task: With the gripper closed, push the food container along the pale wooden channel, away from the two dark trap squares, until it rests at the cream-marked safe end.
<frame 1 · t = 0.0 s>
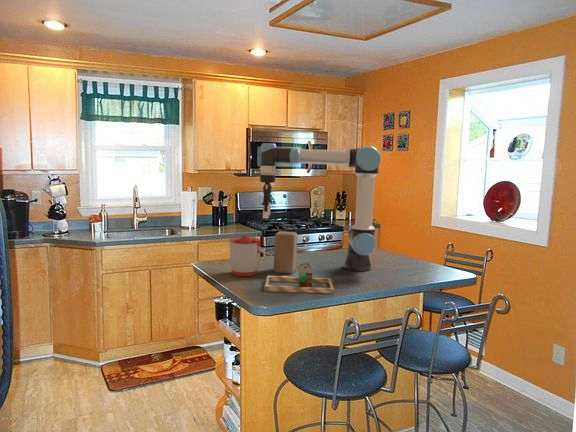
hand: (266, 216, 227), 28 cm above the table, tool pointing down, fingers open, 13 cm apart
citrus juicer: (246, 274, 222), on the table
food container: (303, 287, 203), on the table
trap channel: (298, 286, 203), on the table
block: (284, 271, 231), on the table
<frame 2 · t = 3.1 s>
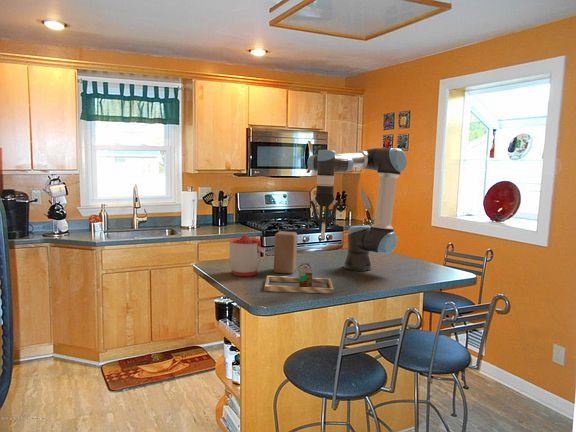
hand: (322, 238, 200), 23 cm above the table, tool pointing down, fingers closed
nothing on the table moved.
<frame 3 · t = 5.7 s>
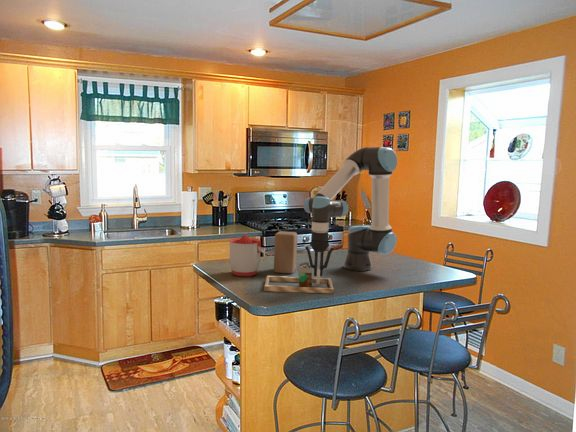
hand: (317, 283, 203), 2 cm above the table, tool pointing down, fingers closed
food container: (303, 287, 203), on the table, touching gripper, hand
everything else where it was.
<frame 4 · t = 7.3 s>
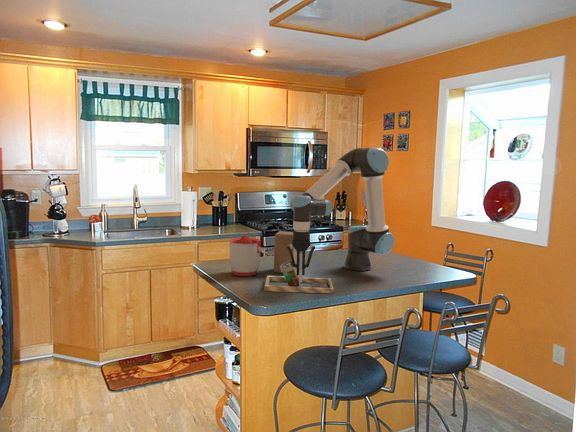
hand: (300, 282, 202), 2 cm above the table, tool pointing down, fingers closed
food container: (293, 285, 203), on the table, touching gripper, hand
everything else where it was.
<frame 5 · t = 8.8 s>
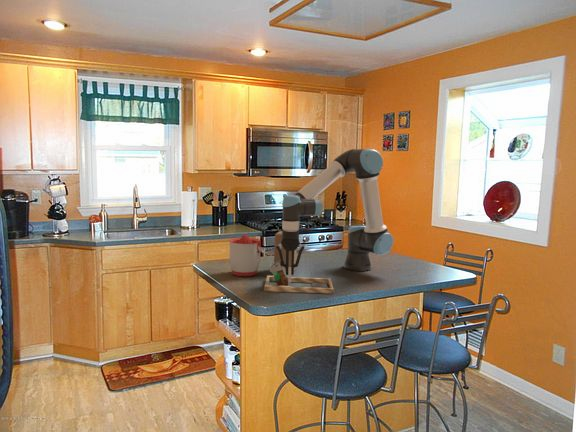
hand: (289, 281, 202), 2 cm above the table, tool pointing down, fingers closed
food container: (282, 285, 203), on the table, touching gripper, hand
everything else where it was.
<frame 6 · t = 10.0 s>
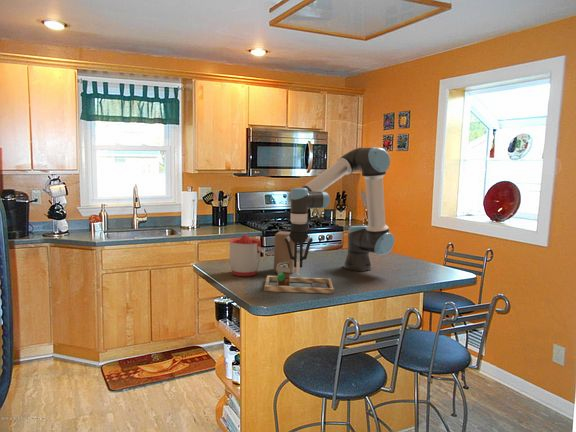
hand: (297, 274, 203), 6 cm above the table, tool pointing down, fingers closed
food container: (282, 286, 203), on the table
everything else where it was.
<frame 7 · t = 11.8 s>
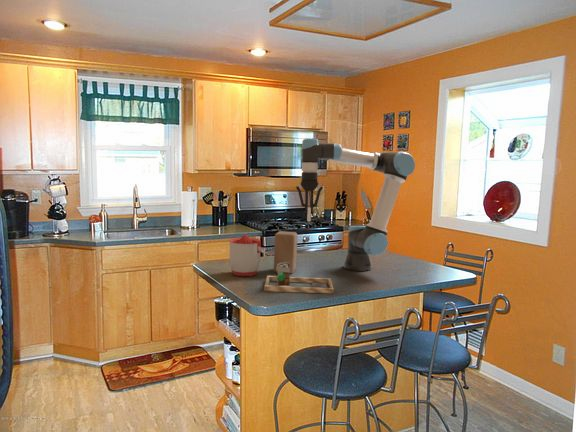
hand: (308, 220, 216), 28 cm above the table, tool pointing down, fingers closed
nothing on the table moved.
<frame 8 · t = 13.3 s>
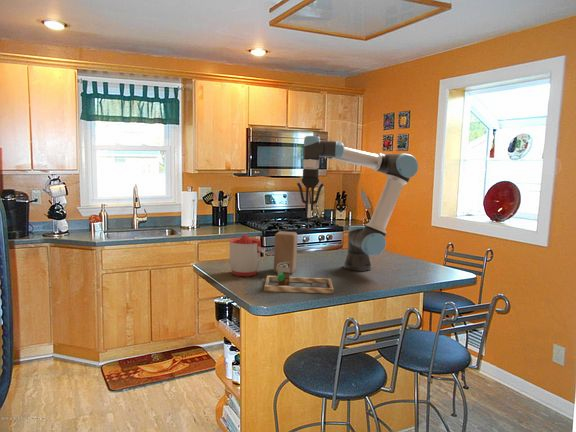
hand: (308, 217, 218), 29 cm above the table, tool pointing down, fingers closed
nothing on the table moved.
at the end: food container inside the target area (1.8 cm from its centre), on the table; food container tilted 0°; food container moved 9.5 cm from its start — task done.
